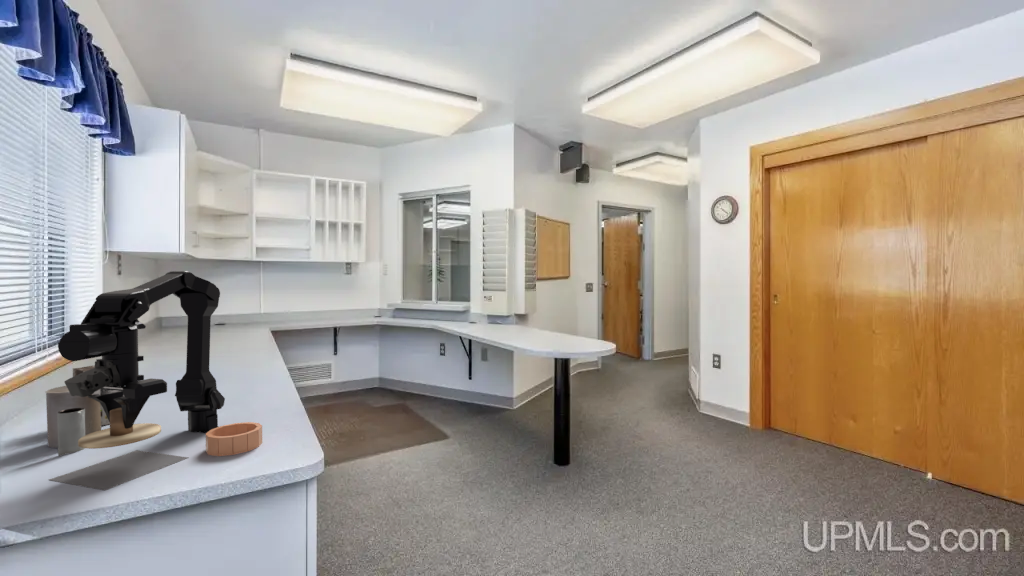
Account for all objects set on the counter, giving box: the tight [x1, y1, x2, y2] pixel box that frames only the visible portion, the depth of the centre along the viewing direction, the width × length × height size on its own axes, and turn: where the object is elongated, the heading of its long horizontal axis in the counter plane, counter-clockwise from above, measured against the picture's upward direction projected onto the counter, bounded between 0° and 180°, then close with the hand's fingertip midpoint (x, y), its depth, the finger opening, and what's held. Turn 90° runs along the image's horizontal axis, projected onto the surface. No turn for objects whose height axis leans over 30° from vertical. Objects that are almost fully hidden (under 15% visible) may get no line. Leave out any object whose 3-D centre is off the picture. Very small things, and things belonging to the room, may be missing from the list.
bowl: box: [205, 421, 263, 457], centre depth 105 cm, size 11×11×5 cm
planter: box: [57, 408, 86, 457], centre depth 103 cm, size 4×4×10 cm
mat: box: [48, 449, 190, 491], centre depth 93 cm, size 16×16×1 cm
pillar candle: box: [44, 385, 102, 449], centre depth 112 cm, size 10×10×15 cm
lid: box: [78, 408, 162, 450], centre depth 93 cm, size 13×13×6 cm
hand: (121, 427), depth 93 cm, fingers closed on lid, 4 cm apart
